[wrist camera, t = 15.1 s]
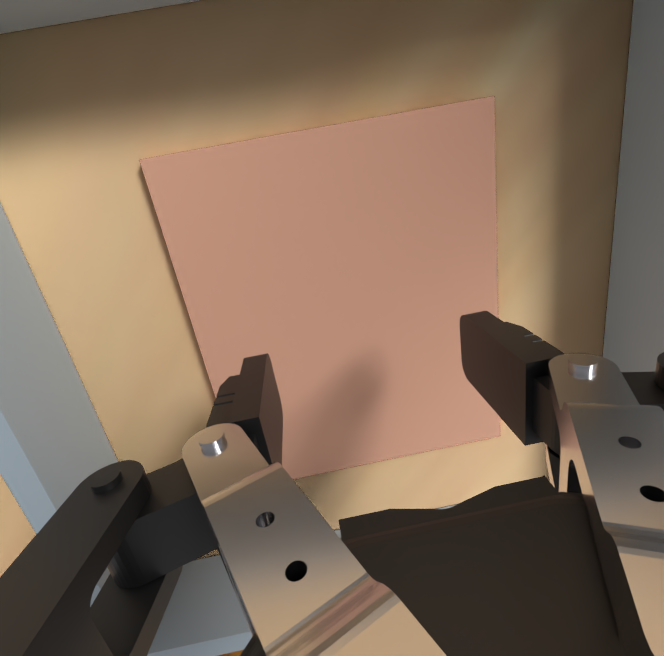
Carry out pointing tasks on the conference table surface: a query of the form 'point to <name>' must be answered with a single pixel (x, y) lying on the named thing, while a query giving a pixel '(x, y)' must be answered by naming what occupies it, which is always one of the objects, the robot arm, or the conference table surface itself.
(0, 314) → the grey flat square frame
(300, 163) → the resting pad
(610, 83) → the conference table surface
